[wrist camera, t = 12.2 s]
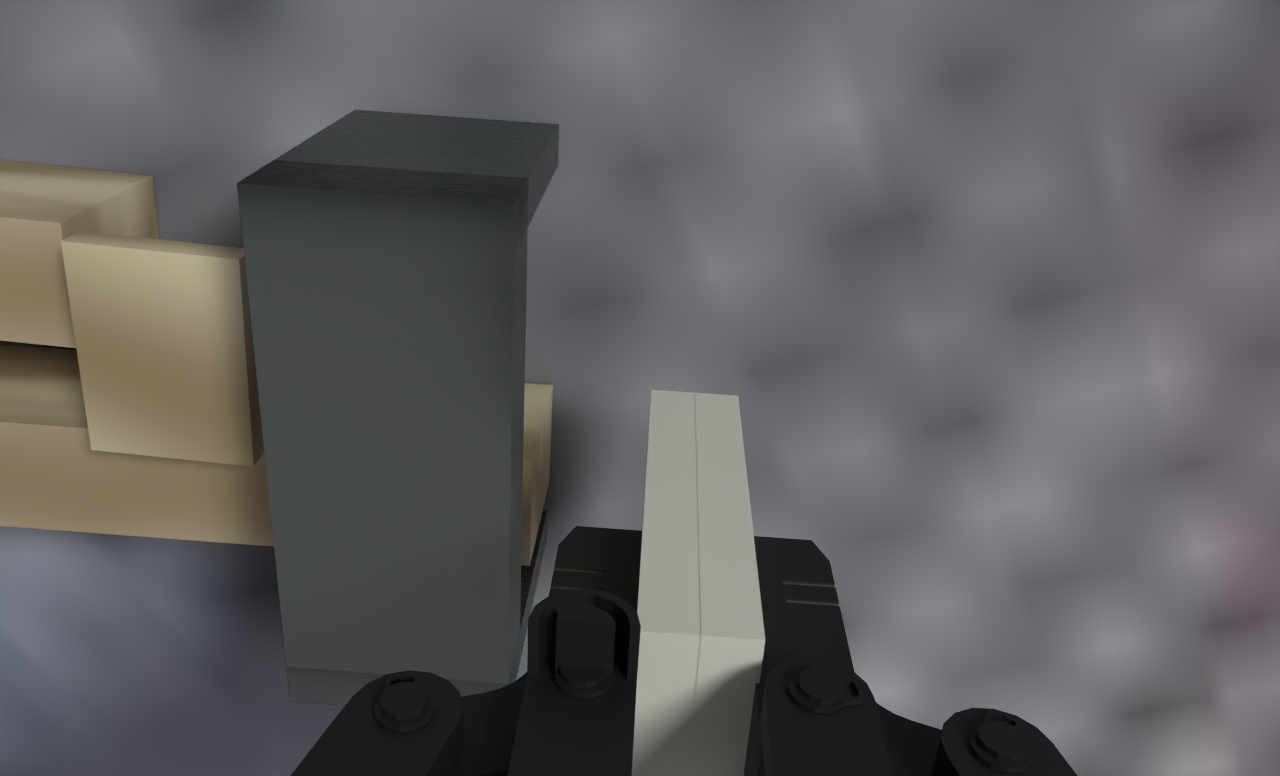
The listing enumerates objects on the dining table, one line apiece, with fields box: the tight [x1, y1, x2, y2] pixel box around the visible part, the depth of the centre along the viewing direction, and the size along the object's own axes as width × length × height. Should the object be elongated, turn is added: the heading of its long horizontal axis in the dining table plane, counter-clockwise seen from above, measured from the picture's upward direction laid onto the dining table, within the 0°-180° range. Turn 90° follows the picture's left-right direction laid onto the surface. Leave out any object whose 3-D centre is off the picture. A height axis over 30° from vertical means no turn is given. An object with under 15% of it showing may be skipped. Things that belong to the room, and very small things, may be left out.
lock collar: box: [237, 110, 559, 706], centre depth 20 cm, size 10×4×6 cm, turn 176°
